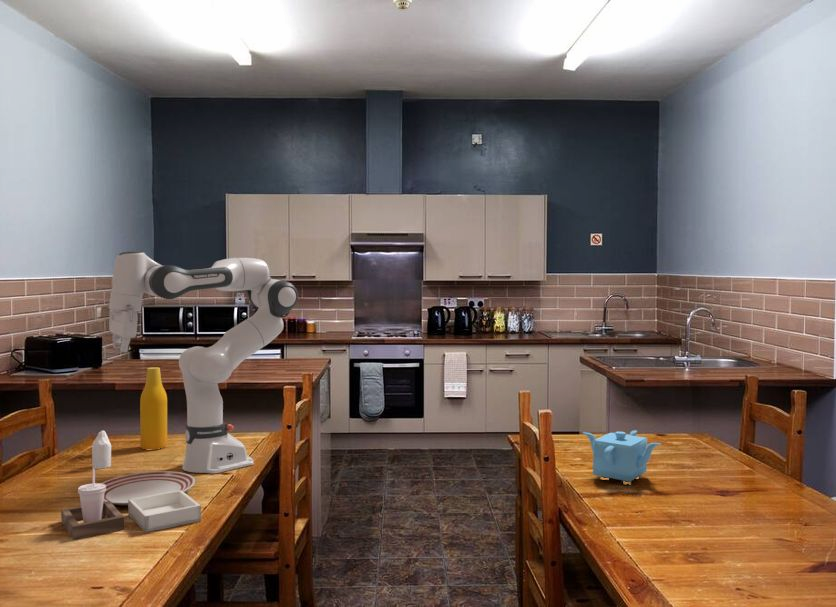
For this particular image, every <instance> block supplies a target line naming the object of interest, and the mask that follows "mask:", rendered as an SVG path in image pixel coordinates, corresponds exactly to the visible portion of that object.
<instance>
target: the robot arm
mask: <svg viewBox="0 0 836 607" xmlns="http://www.w3.org/2000/svg"><path fill="white" fill-rule="evenodd" d="M113 266H114V267H113V271H112V288H111V290H110V297H109V301H108V304H107V307H108V309H109V312H108V313H109V314H108V315H109V316H108V318H109V319H108V328H109V332H110V333H113V335H112V338H113V346H112V347H113V348H114V349H116V350H117V349H119V350H120V352H121V353H127V352H128V351H129V345H130V343H131V339H136V336H137V333H138V332H137V330H138V318H139V316H138V313H137V312H141V311H142V306H143V305H142V304H143V296H144V294H147V295H150V296H152V297H153V296H154V297H157V298H158V297H159V298H162V299H163V300H174V299H177V298H179V297H181V296H183V295H184V294H187V293H189V292H193V291H200V290H209V289H215V290H218V291H221V292H240V291H242V292H243V291H246V292H247V294H246V295H247V298H248V301H249V303H250V305H252V306H253V307H255V308H256V309H257V311H256V312H255V313H254V314H253V315H252V316H250V317H248V318H246V319H245V320H243V321H241V322H240V323H238V324H237V325H235V326H233V327H231V328H230V329H229V330H226V331H225V332H224V334H223V336H222V337H221V338H220V339H219V340H217V342H215V343H214V344H213V345H211V346H208V347H204V346H199V345H197V346H192V347H188V348H187V349H184V351H183V352H182V353H181V354H180V355H179V359H178V366H179V370H180V372H181V374H182V381H183V382H182V383H183V386H184V387H183V388H184V390H185V396H186V409H187V411H186V414H187V415H186V416H187V418H186V421H187V424H186V425H185V442H186V445H185V446H186V448H185V454H184V455H185V456H184V459H183V464H182V468H181V469H182V470H183V471H185V472H187V473H188V472H189V473H196V474H197V473H199V474H203V473H205V474H213V475H214V474H218V473H219V474H220V473H224V472H227V471H232V470H236V469H237V470H238V469H240V468H245V467H250V466H252V465H254V464H255V462H254V461H255V460H254V459H253V458H252V457H251V456H249V455H248V454H247V449H246V446H245V445H244V443H243V442H241V441H240V440H239V439H238V438H236V437H234V436H233V435H231V434H230V433H229V432H232V431H233V430H234V428H235V427H234V425H232V424H231V423H230V424H229V423H226V422H224V420H223V419H224V418H223V417H224V416H223V415H224V412H223V410H224V405H223V404H224V401H223V397H222V395H221V393H220V389H219V388H220V387H219V385H218V384H220V383H223V382H225V381H227V380H228V379H229V378H230V377H231V375H232V374H233V371H234V370H235V369H236V368H237V367H238V366H239V365H240V364H241V363H242V362H244V361H245V360H246V359H247V358H249V357H251V356H252V355H254V354H255V353H257V352H258V351H260V350H261V349H263V348H264V347H266V346H267V345H269V344H270V343H272V341H274V340H275V339H276V338H277V337H278V336H279V335H280V334H281V333H282V332H283V330H284V326H285V325H284V320H283V318H286V317H288V315H289V314H290V312H291V311H292V310H293V309H294V307H295V306H296V304H297V302H298V301H299V292H298V289H297V287H295V285H294V284H292V283H291V282H289V281H287V280H286V281H285V280H281V279H280V280H279V279H275V278H272V277H271V275H270V268H269V265H268V264H267V262H266V261H264V260H263V259H261V258H260V259H259V258H254V257H230V258H224V259H221V260H217V261H215V262H214V263H213V265H211V267H209V268H208V267H207V268H201V269H200V268H199V269H198V268H196V269H184V268H182V267H180V266H176V265H170V264H167V265H162V264H160V263H159V262H156V261H155V260H153V259H152V258H151V257H149V256H148V255H146V252H144V251H138V250H137V251H136V250H134V251H132V250H131V251H122V252H120V253H119V254H118V255H116V258H115V261H114V265H113Z"/></svg>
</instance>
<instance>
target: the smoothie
mask: <svg viewBox="0 0 836 607" xmlns="http://www.w3.org/2000/svg"><path fill="white" fill-rule="evenodd" d="M91 470H92V483H87V484H82V485H80V486H79V487H78V488H77V494H79V501H80V506H81V508H82V515H83V519H82V521H83V522H82V523H86V522H91V521H96V520H102V516H103V515H102V509H103V500H104V492H105V490H106V485H105V484H102V483H103V482H100V483H98V482H96V469H93V468H92V469H91Z"/></svg>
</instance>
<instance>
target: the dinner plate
mask: <svg viewBox="0 0 836 607" xmlns="http://www.w3.org/2000/svg"><path fill="white" fill-rule="evenodd" d="M101 483H102V484H105V485H106V490H105V492H104V500H103V502H107V501H110V502H111V503H112V504H113V505H117V506H125V507H128V499H133V498H139V497H145V496H150V495H156V494H161V493H167V492H172V491H178V490H182V491H183V492H184V493H186V492H188V491H189V490H191V488H192V487H193V486H194V485H195V483H196V479H195V477H194V476H193V475H191V474H187V473H185V472H180V471H169V470H167V471H165V470H160V471H159V470H157V471H156V470H154V471H143V472H136V473H135V472H134V473H130V474H126V475H125V474H124V475H122V476H121V475H120V476H117V477H114V478H111V479H109V480H105V481H103V482H101Z"/></svg>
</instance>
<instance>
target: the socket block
mask: <svg viewBox="0 0 836 607" xmlns="http://www.w3.org/2000/svg"><path fill="white" fill-rule="evenodd" d="M60 512H61V514H60V517H61V520H60V521H62V522H61V523H62V524H63V526H64V528H65V530H66V531H67V533H68V534H69V535H70V537H71V539H72V541H73V540H77V538H79V539H83V537H84V538H88V536H89V537H93V535H94V536H98V534H99V535H103V534H108V533H112V532H118V531H123V530H125V516H124V515H123V514H122V513H121V512H120V511H119V509H118V508H117V507H116V506H115V504H112V503H111V502H110V501H107V502H103V509H102V516H105V517H106V518H103V519H102V518H101V520H96V521H91V522H86V523H84V522H81V523H79V522H78V521H79V520H83V515H82V508H81V505H80V506H74V507H69V508H63V509H61V511H60ZM122 529H123V530H122Z"/></svg>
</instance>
